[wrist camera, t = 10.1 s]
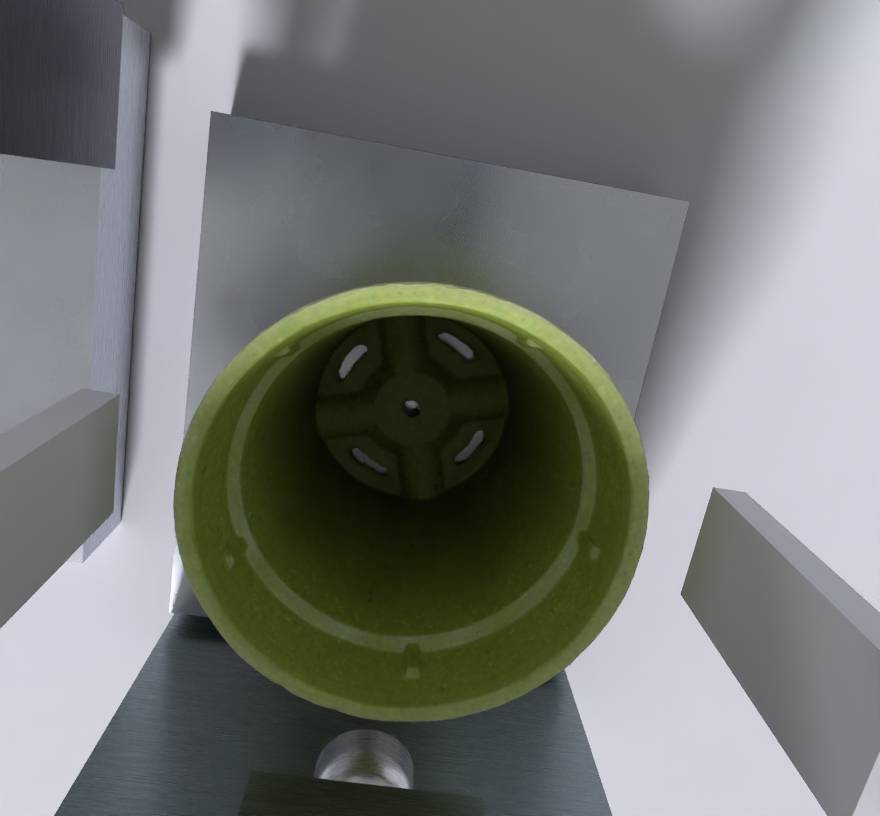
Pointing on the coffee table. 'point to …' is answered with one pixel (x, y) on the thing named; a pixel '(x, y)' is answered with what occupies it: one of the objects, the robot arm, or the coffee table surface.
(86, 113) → the lever
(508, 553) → the plant pot
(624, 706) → the coffee table surface
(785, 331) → the coffee table surface
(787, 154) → the coffee table surface
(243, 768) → the frame
